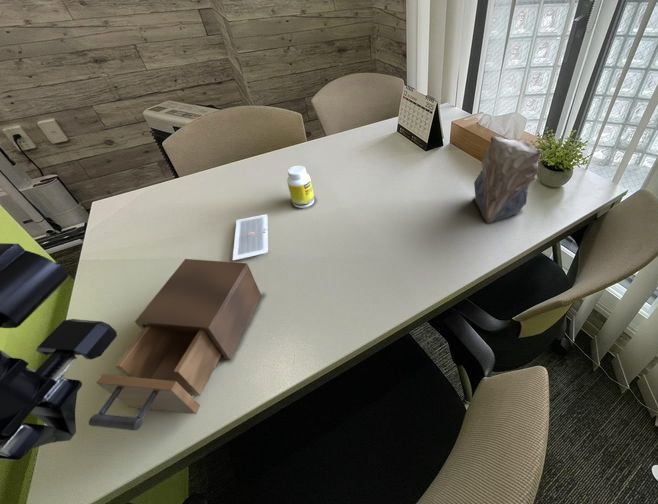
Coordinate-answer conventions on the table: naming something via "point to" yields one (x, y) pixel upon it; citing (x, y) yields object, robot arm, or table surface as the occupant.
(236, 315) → the cabinet
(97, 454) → the table surface
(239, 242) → the touchpad
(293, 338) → the table surface
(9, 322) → the robot arm
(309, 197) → the pill bottle
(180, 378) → the drawer
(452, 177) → the table surface
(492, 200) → the brown grey rock
